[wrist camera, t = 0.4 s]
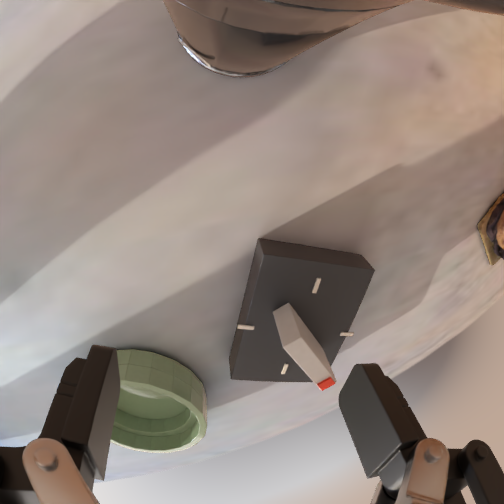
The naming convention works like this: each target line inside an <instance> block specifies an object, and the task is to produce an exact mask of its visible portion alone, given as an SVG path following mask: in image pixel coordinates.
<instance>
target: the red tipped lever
mask: <svg viewBox="0 0 504 504" xmlns="http://www.w3.org/2000/svg"><path fill="white" fill-rule="evenodd" d="M273 315H274V318H275V322H276V325H277V329H278V332H279V336H280V339H281V343H282V346H283V348H284V349H285V351H286V352H287V353H288V354H289V355H290V356H291V357H292V358H293V360H294V361H295V362H296V363H297V364H298V365H299V366H300V367H301V369H302V370H303V371H304V372H305V373H306V374H307V375H308V376H309V378H310V379H311V380H312V381H313V382H314V383H315V384H316V385H317V386H318V388H319V389H320V390H322V391H323V390H325V389H326V388H328V387H330V386H332V385H334V384H335V382H336V379H335V376H334V374H333V372H332V369H331V367H330V364H329V362H328V360H327V357H326V355H325V352H324V350H323V348H322V347H321V345H320V344H319V343H318V341H317V340H316V339H315V337H314V336H313V334H312V333H311V332H310V330H309V329H308V328H307V326H306V325H305V324H304V322H303V321H302V320H301V318H300V317H299V316H298V314H297V313H296V311H295V310H294V309H293V307H292V306H291V305H290V303H287V304H285V305H283V306H282V307H280V308H278V309H277V310H275V311H273Z"/></svg>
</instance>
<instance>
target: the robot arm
mask: <svg viewBox="0 0 504 504" xmlns="http://www.w3.org/2000/svg"><path fill="white" fill-rule="evenodd" d="M411 1H413V0H163V2H164V4H165V6H166V8H167V10H168V12H169V14H170V16H171V18H172V20H173V22H174V24H175V27H176V29H177V32H178V36H179V38H180V39H178V40H179V42H180V43H181V44H182V45H183V46H184V48H185V50H186V51H187V53H188V54H189V55H190V56H191V57H192V58H193V59H194V60H195V61H196V62H197V63H199V64H200V65H201V66H203V67H204V68H206V69H208V70H210V71H213V72H215V73H218V74H221V75H225V76H230V77H253V76H258V75H262V74H266V73H268V72H271V71H273V70H275V69H277V68H278V67H280V66H282V65H283V64H285V63H286V62H288V61H289V60H290V59H292V58H293V57H295V56H297V55H299V54H300V53H302V52H304V51H306V50H307V49H309V48H311V47H313V46H315V45H317V44H318V43H320V42H322V41H324V40H326V39H328V38H330V37H332V36H334V35H336V34H338V33H340V32H342V31H344V30H346V29H348V28H350V27H352V26H354V25H356V24H358V23H360V22H362V21H364V20H366V19H368V18H370V17H373V16H375V15H377V14H379V13H382V12H384V11H386V10H389V9H391V8H394V7H396V6H399V5H401V4H405V3H408V2H411ZM424 1H430V2H434V3H438V4H443V5H448V6H452V7H457V8H461V9H467V10H472V11H478V12H482V13H490V14H497V15H503V16H504V0H424ZM119 395H120V374H119V366H118V357H117V350H116V348H112V347H106V346H100V345H92V347H91V349H90V352H89V354H88V357H87V359H82V358H75V359H74V360H73V361H72V362H71V363H70V364H69V365H68V366H67V367H66V369H65V371H64V373H63V376H62V378H61V383H59V386H58V388H57V393H56V394H55V396H54V399H53V402H52V404H51V407H50V410H49V412H48V415H47V418H46V421H45V424H44V427H43V430H42V432H41V434H40V436H39V437H38V438H37V439H35V440H33V441H31V442H30V443H29V444H28V445H27V446H24V447H0V504H100V503H99V502H98V500H97V499H96V497H95V496H94V494H93V493H92V489H93V483H94V479H98V480H103V481H104V477H105V470H106V464H107V458H108V452H109V446H110V441H111V435H112V430H113V425H114V420H115V415H116V410H117V405H118V401H119ZM339 407H340V409H341V412H342V414H343V417H344V419H345V422H346V425H347V427H348V429H349V432H350V435H351V437H352V440H353V442H354V445H355V447H356V450H357V453H358V455H359V458H360V460H361V463H362V466H363V468H364V471H365V473H366V476H367V478H372V477H376V476H380V479H381V481H380V482H379V483H378V485H377V487H376V490H375V493H374V495H373V498H372V501H371V503H370V504H466V503H465V500H464V498H463V496H462V493H461V490H462V489H463V488H464V487H466V486H467V485H468V486H469V488H470V491H471V493H472V495H473V497H474V500H475V502H476V504H504V473H503V471H502V469H501V467H500V465H499V464H498V462H497V460H496V458H495V456H494V454H493V453H492V451H491V449H490V447H489V446H488V445H487V444H486V443H484V442H483V441H480V440H472V441H470V442H469V443H468V444H467V445H466V446H465V447H464V448H463V449H447V448H446V446H445V445H444V444H443V443H442V442H440V441H438V440H436V439H433V438H427V437H426V435H425V433H424V432H423V430H422V428H421V426H420V424H419V423H418V421H417V419H416V417H415V415H414V413H413V412H412V410H411V408H410V407H408V403H407V401H406V399H405V398H403V394H402V392H401V391H400V389H399V387H398V386H397V385H396V384H395V383H394V382H393V381H392V380H391V379H390V378H389V377H388V376H385V375H384V373H383V372H382V370H381V368H380V367H379V365H378V364H376V363H370V364H356V365H355V366H354V367H353V369H352V371H351V373H350V375H349V377H348V379H347V380H346V382H345V384H344V386H343V388H342V390H341V391H340V394H339Z"/></svg>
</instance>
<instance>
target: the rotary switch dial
mask: <svg viewBox="0 0 504 504" xmlns="http://www.w3.org/2000/svg"><path fill="white" fill-rule="evenodd" d="M374 271H375V270H374V269H373V268H372V266H371V265H370V264H369V263H368V262H367V261H366V260H365V258H364V257H363V256H362V255H359V254H353V253H347V252H341V251H335V250H329V249H322V248H316V247H310V246H304V245H297V244H291V243H285V242H278V241H272V240H266V239H258V241H257V246H256V250H255V254H254V258H253V262H252V266H251V270H250V275H249V279H248V283H247V287H246V291H245V295H244V299H243V303H242V308H241V312H240V316H239V320H238V324H237V328H236V332H235V336H234V341H233V345H232V349H231V353H230V357H229V364H230V375H231V379H234V380H250V381H273V382H313V381H312V380H311V379H310V378H309V376H308V375H307V374H306V373H305V372H304V371H303V370H302V369H301V367H300V366H299V365H298V364H297V363H296V362H295V361H294V360H293V358H292V357H291V356H290V355H289V354H288V353H287V352H286V351H285V349H284V348H283V346H282V343H281V339H280V336H279V332H278V329H277V325H276V322H275V318H274V315H273V311H275V310H277V309H278V308H280V307H282V306H283V305H285V304H287V303H290V305H291V306H292V307H293V309H294V310H295V311H296V313H297V314H298V316H299V317H300V318H301V320H302V321H303V322H304V324H305V325H306V326H307V328H308V329H309V330H310V332H311V333H312V334H313V336H314V337H315V339H316V340H317V341H318V343H319V344H320V345H321V347H322V348H323V350H324V352H325V355H326V357H327V360H328V362H329V364H330V367H331V365H332V363H333V361H334V359H335V357H336V355H337V353H338V351H339V349H340V347H341V345H342V343H343V341H344V339H345V337H346V336H353V334H354V333H353V332H348V331H349V328H350V326H351V324H352V322H353V320H354V318H355V315H356V313H357V311H358V309H359V306H360V304H361V302H362V300H363V297H364V295H365V293H366V290H367V288H368V286H369V283H370V281H371V278H372V276H373V273H374Z"/></svg>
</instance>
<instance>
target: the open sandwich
mask: <svg viewBox="0 0 504 504" xmlns="http://www.w3.org/2000/svg"><path fill="white" fill-rule="evenodd" d="M500 196H501V195H500ZM500 196H499V198H498V200H497V201H496V202H495V203H494V205H493V206H492V207H491V208H490V210H489V211H488V212H487V214H486V215H485V216H484V218H482V220H481V221H480V222H479V224H477V225H478V230H479V232H480V233H481V235H480V236H481V238H482V239H483V240H482V241H483V244H484V247H485V251H486V254H487V257H488V260H489V263H490V264H491V265H494V264H495V263H496V262H497V261H498V260H499V259H500V258H503V259H504V194H502V196H501V197H500Z"/></svg>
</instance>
